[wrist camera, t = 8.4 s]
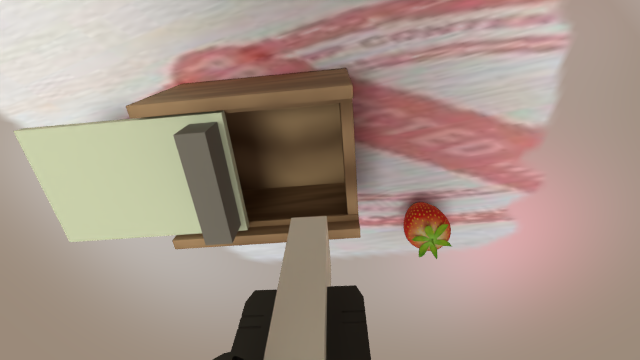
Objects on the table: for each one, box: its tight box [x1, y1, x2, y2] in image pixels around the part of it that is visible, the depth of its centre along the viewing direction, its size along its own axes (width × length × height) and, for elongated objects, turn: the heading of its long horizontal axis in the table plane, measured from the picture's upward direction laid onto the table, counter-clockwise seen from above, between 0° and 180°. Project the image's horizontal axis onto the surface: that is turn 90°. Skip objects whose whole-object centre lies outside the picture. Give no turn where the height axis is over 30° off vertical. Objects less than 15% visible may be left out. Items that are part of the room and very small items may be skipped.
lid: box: [14, 110, 249, 245], centre depth 29 cm, size 11×18×4 cm, turn 95°
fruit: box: [404, 202, 451, 259], centre depth 38 cm, size 5×5×8 cm
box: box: [126, 68, 360, 249], centre depth 33 cm, size 14×18×11 cm
